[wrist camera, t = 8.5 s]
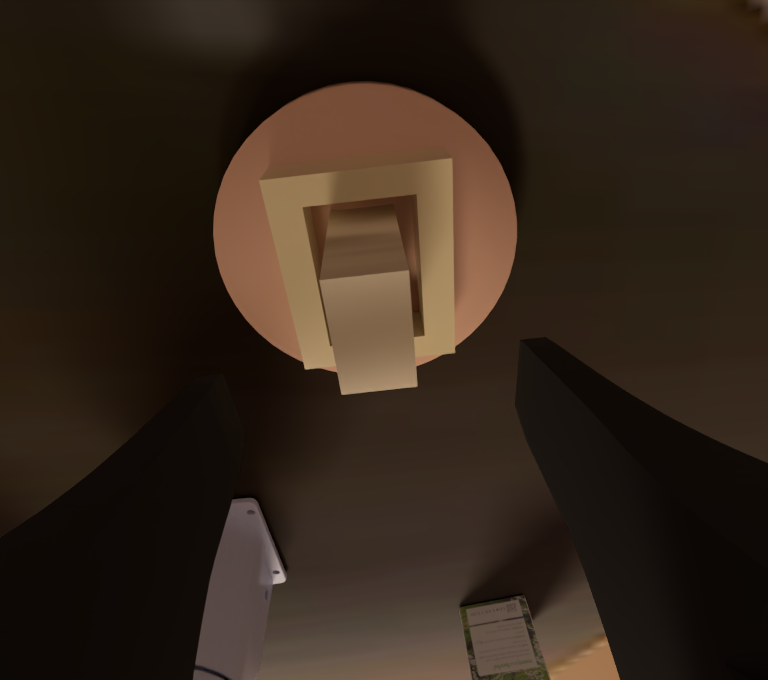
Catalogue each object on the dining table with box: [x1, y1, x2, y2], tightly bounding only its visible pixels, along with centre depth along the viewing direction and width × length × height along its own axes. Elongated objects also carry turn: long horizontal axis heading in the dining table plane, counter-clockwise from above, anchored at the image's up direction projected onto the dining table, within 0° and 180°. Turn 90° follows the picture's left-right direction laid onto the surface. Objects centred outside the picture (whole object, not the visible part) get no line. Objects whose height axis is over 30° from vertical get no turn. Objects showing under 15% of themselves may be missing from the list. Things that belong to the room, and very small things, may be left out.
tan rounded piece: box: [213, 81, 517, 372], centre depth 18 cm, size 12×12×4 cm
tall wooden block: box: [319, 204, 417, 395], centre depth 16 cm, size 4×2×6 cm, turn 6°
